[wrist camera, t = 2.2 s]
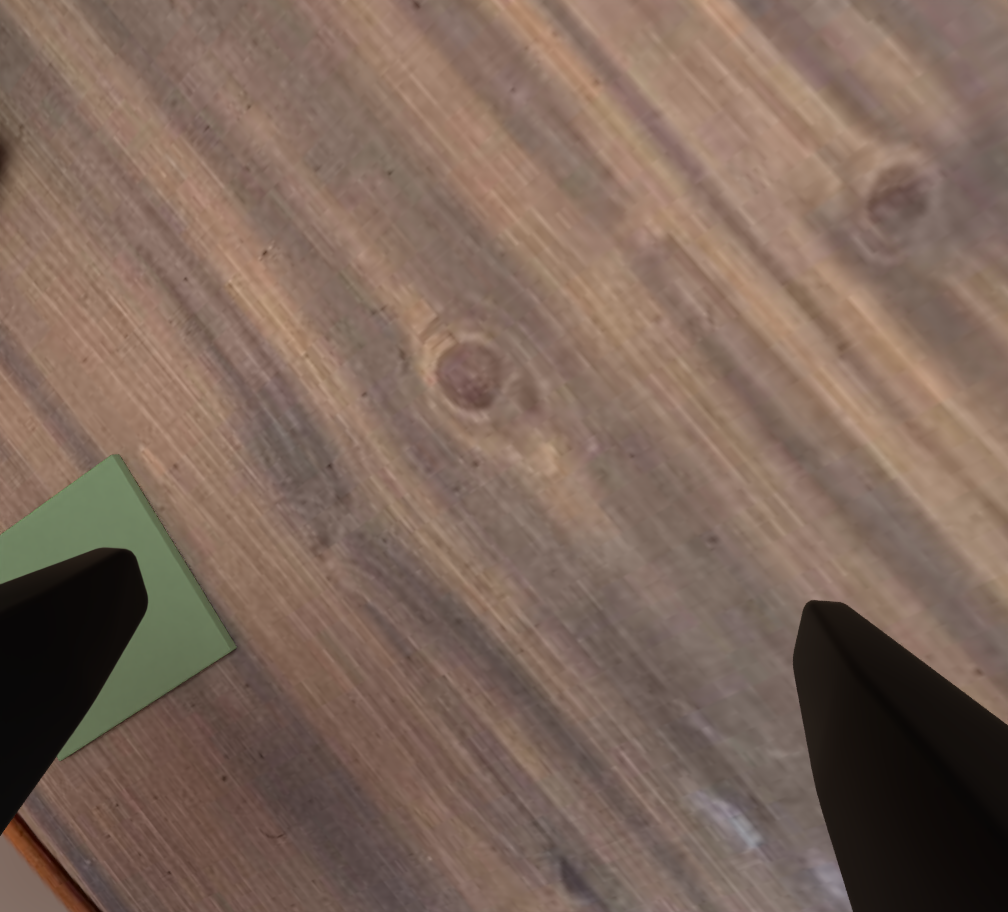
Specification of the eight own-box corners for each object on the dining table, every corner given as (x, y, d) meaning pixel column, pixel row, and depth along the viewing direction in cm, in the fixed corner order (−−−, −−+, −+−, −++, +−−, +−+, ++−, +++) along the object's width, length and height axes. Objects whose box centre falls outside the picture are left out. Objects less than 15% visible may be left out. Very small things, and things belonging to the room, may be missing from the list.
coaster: (237, 647, 23) (231, 651, 23) (68, 756, 24) (59, 762, 24) (119, 453, 23) (111, 454, 23) (-43, 570, 24) (-54, 572, 24)
